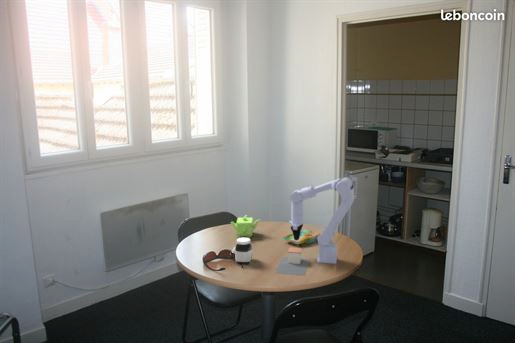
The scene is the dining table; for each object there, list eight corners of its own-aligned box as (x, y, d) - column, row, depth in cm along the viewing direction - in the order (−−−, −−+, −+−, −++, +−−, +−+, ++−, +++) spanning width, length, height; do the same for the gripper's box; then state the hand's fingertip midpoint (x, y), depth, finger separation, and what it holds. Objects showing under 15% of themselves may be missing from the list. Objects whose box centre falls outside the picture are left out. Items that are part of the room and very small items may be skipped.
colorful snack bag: (321, 232, 252) (297, 240, 239) (321, 240, 253) (297, 248, 240) (306, 227, 261) (282, 235, 248) (306, 235, 262) (282, 243, 249)
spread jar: (248, 266, 217) (247, 243, 215) (226, 264, 220) (226, 241, 218) (255, 257, 229) (254, 235, 226) (234, 255, 232) (233, 234, 229)
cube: (301, 259, 223) (301, 248, 222) (299, 264, 218) (299, 252, 217) (289, 258, 225) (289, 247, 224) (287, 263, 219) (287, 251, 218)
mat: (309, 260, 224) (309, 259, 224) (304, 276, 204) (304, 275, 204) (282, 258, 227) (282, 257, 227) (275, 274, 208) (275, 273, 207)
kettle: (246, 230, 272) (245, 212, 270) (262, 235, 262) (262, 217, 260) (227, 235, 262) (227, 217, 260) (244, 241, 252) (243, 222, 250)
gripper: (291, 209, 232) (291, 234, 235) (287, 217, 219) (286, 243, 221) (304, 210, 231) (304, 234, 233) (301, 218, 217) (301, 244, 220)
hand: (296, 239), depth 227 cm, fingers closed
